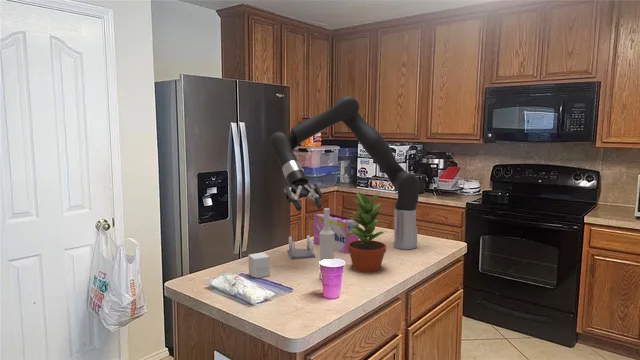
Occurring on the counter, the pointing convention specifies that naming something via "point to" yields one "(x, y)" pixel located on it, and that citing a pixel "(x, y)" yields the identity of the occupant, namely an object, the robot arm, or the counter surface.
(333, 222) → the gum box
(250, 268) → the product box
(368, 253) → the potted plant
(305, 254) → the pin holder
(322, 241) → the bottle
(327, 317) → the counter surface
